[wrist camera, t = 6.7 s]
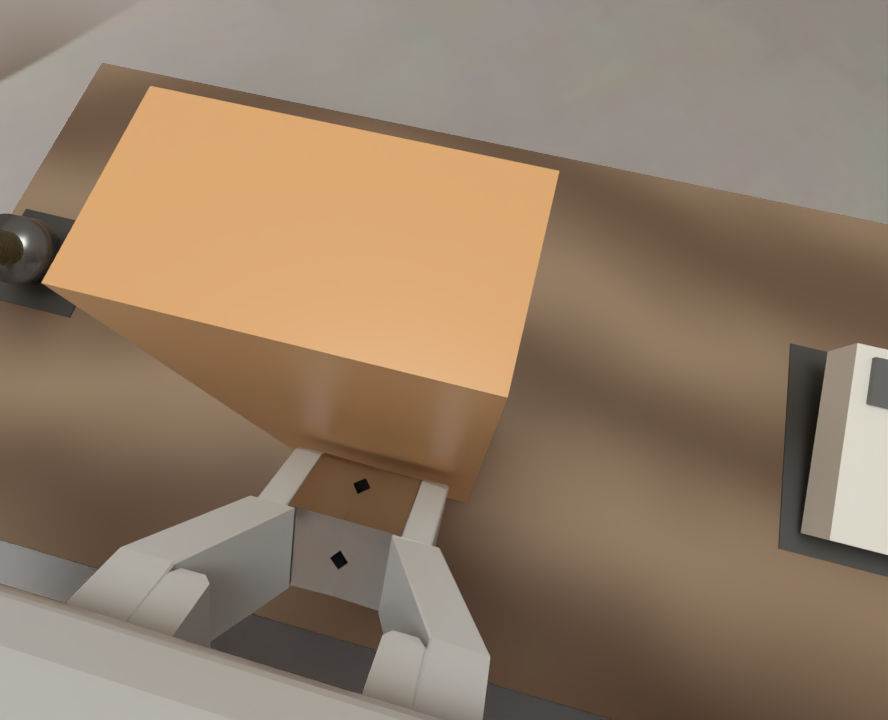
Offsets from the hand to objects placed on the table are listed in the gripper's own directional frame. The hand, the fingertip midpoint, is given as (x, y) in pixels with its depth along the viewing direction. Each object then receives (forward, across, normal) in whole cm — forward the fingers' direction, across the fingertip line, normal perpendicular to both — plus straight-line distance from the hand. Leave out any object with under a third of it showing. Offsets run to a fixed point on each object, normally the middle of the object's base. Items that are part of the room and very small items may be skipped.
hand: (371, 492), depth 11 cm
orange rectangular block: (+4, 0, +2) cm, 5 cm away
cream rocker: (+6, -12, 0) cm, 14 cm away
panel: (+8, 0, +2) cm, 8 cm away
